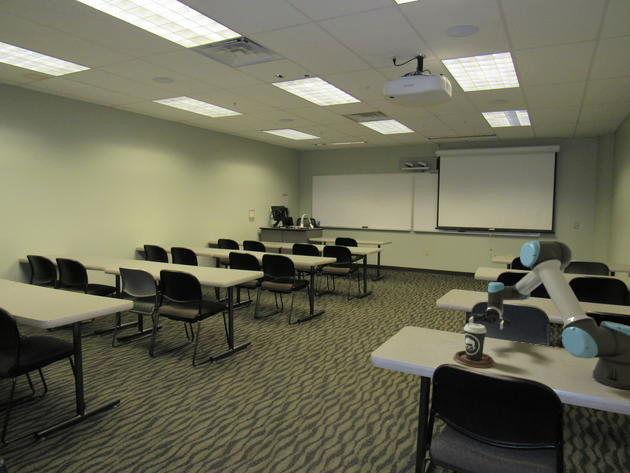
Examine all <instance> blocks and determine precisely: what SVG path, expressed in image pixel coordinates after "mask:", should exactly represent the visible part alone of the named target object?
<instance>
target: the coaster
mask: <svg viewBox="0 0 630 473" xmlns="http://www.w3.org/2000/svg"><path fill="white" fill-rule="evenodd" d="M453 360H454V362H456V363H457V364H459V365H462V366H466V367H470V368H474V369H488V368H491V367H492V368H493V367H494V366H495V360H494V359H493V357H492V356H491V355H489V354H486V353H484V352H483V354H482V360H481V361H470V360H468V359H466V350H460V351H457V352H456V353H455V354H454V355H453Z"/></svg>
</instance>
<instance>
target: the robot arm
mask: <svg viewBox="0 0 630 473" xmlns="http://www.w3.org/2000/svg"><path fill="white" fill-rule="evenodd" d="M519 258H520V262H521V264H522V265H523V266H524V267H527V268H530V269H531V271H529V272H528V273H527V274H526V275H525V276H523V277H522V278H521V279H520V280H519V281H518V282H516V283H515V284H514V285H511V286H509V285H506V286H505V284H504V283H503V282H498V281H492V282H489V283H488V287H487V309H486V310H485V311H484V312H483V314H482V313H481V314H479V313H478V312H476V313H473V314H472V313H471V314H466V315H465V321H466V322H467V321H468V324H469V323H474V322H486V323H487V324H489V325H495V324H498V325H499V330H503V328H506V327H507V326H508V327H510V328H511V327H512V321H511V320H510V319H508V318H507V317H506V316H504V313H505V312H504V311H505V310H504V301H526V300H528V299H529V298H530V296H531V292H532V291H534V290H535V289H536V288H537V287H539V286H540V285H541V284H543V286H544V288H545V290H546V291H547V294H548V295H549V297H550V299H551V301H552V302H553V304H554V306H555V308H556V311H557V312H558V314H559V316H560V318H561V320H562V322H563V325H562V333H561V342H562V345H563V347H564V348H565V350H566V351H567V353H569V354H570V355H571V356H573V357H576V358H579V359H589V360H590V359H593V358H594V359H595V358H597V359H598V360H597V362H596V365H595V366H594V369H593V370H592V379H593V378H594V379H595V381H596V380H597V381H596V382H598V383H600V382H601V383H600V384H602V383H603V384H602V385H604V384H605V386H607V385H608V387H612V388H615V387H617V389H620V388H623V389H622V390H628V389H630V326H629V325H626V324H625V325H624V324H622V323H615V322H613V321H606V320H605V321H604V320H603V321H601V323H600V324H599V326H598V324H597V322H596V321H595V319H594V318H593V317H590V316H588V315H587V313H586V312H585V309H584V308H583V307H582V305H581V303H580V301H579V299H578V297H577V296H576V295H575V293H574V290H573V289H572V287H571V285H570V284H569V282H568V280H567V279H566V277H565V275H564V273H563V272H562V271H563V270H565V269H566V268H567V267H568V266H569V265H570V263H571V262H572V259H573V253H572V249H571V248H570V247H569V245H568V244H566V243H564V242H563V241H562V242H561V241H558V240H554V241H553V240H550V241H549V240H547V241H546V240H531V241H527V242H526V243H524V244H523V245H522V247H521V249H520V252H519ZM594 379H593V380H594Z"/></svg>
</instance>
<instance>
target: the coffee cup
mask: <svg viewBox="0 0 630 473" xmlns="http://www.w3.org/2000/svg"><path fill="white" fill-rule="evenodd" d="M463 330H464V344H465V345H464V346H465V351H466V359H468V360H470V361H481V360H482V354H483V353H484V347H485V346H484V345H485V338H486V334H487V329H486V326H485V325H483V324H480V323H474V322H473V323H469V322H468V323H466V324H465V326H464V327H463Z"/></svg>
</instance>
